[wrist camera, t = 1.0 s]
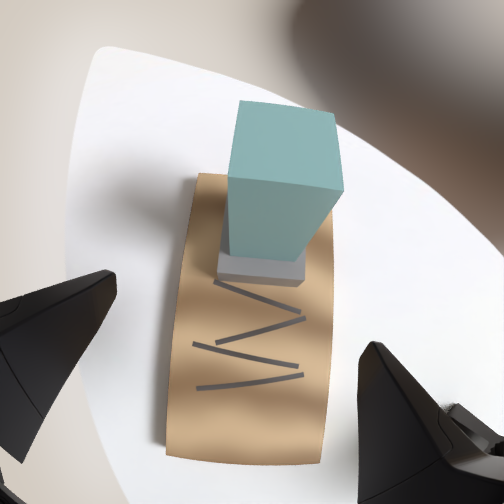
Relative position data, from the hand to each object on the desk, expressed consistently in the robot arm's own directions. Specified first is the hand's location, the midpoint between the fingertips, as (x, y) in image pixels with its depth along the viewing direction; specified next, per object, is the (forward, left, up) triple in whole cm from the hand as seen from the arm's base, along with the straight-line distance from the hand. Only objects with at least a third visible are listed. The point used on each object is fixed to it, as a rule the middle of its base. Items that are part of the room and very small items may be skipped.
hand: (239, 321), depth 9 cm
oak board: (+1, -1, -13) cm, 13 cm away
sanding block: (+7, -1, -12) cm, 14 cm away
